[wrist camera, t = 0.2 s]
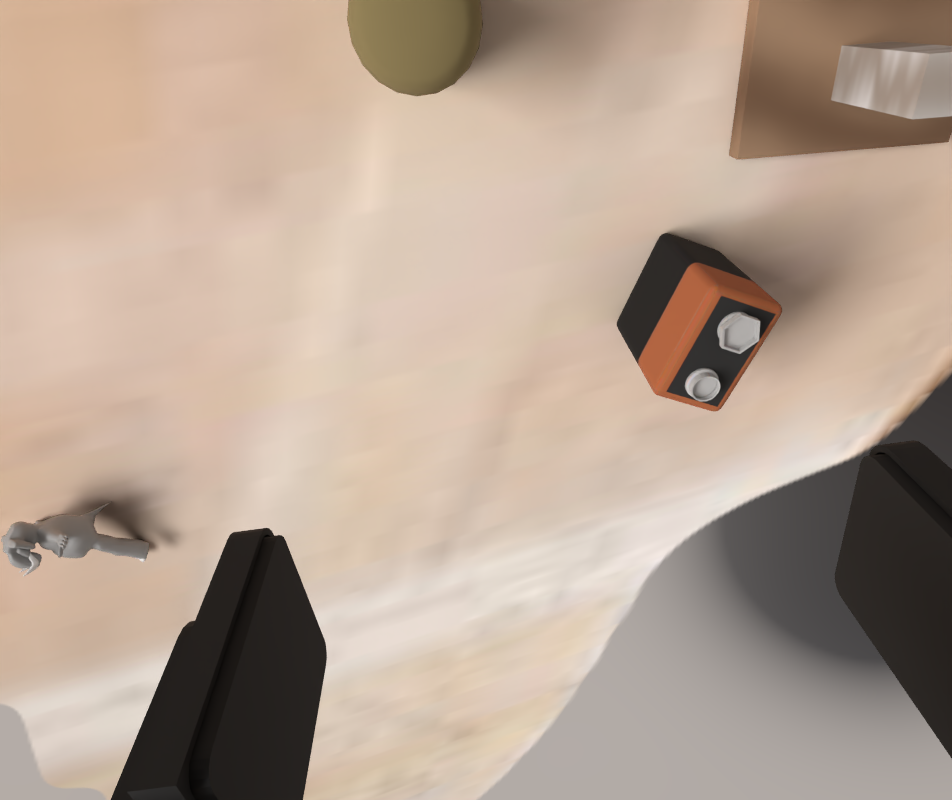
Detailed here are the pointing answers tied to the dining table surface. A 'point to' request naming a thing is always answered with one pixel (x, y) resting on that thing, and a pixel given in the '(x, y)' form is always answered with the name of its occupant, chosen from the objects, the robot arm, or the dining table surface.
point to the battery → (695, 322)
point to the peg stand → (843, 76)
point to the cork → (415, 41)
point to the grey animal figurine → (65, 540)
